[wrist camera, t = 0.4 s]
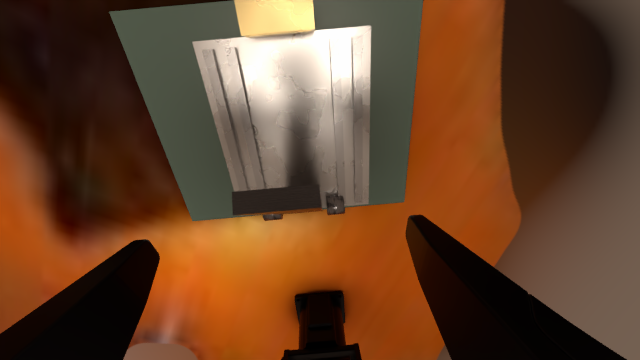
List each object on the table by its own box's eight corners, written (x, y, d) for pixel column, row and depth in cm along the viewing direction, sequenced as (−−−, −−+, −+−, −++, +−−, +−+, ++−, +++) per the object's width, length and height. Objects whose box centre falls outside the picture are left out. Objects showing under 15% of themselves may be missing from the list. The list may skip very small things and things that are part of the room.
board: (400, 197, 26) (404, 202, 25) (196, 215, 26) (192, 221, 25) (418, -14, 18) (424, -18, 17) (119, 14, 18) (109, 11, 17)
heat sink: (360, 187, 24) (374, 220, 19) (250, 197, 24) (235, 233, 19) (360, -1, 17) (380, -24, 12) (205, 13, 17) (162, -5, 12)
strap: (321, 201, 20) (322, 210, 20) (285, 204, 20) (286, 214, 20) (319, 183, 8) (321, 207, 8) (232, 191, 8) (232, 215, 8)
